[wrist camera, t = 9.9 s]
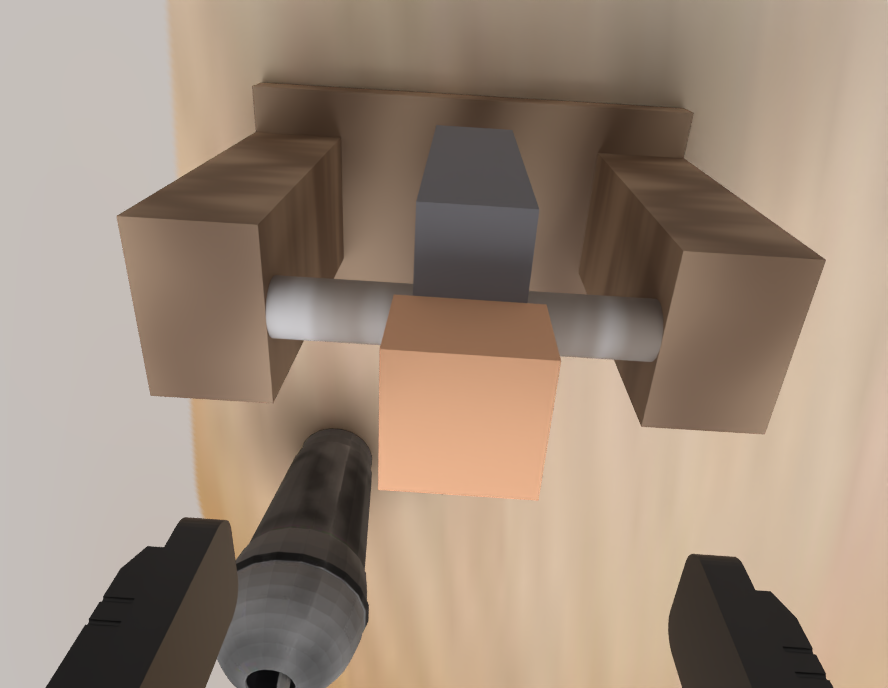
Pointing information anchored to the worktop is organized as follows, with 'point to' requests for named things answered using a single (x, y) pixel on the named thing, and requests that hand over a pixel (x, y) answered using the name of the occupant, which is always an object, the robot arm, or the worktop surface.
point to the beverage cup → (305, 572)
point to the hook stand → (393, 241)
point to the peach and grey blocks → (469, 332)
